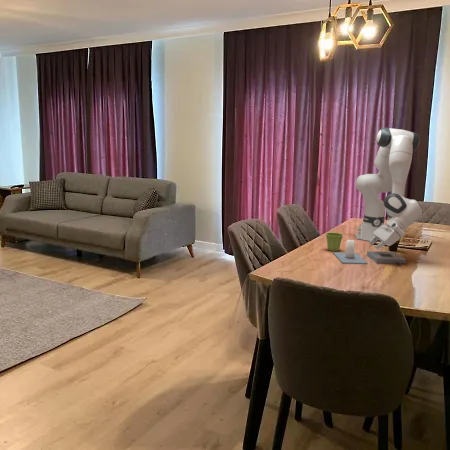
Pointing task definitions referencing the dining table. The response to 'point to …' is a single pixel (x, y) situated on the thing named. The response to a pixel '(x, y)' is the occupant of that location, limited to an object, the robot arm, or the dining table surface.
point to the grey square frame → (386, 257)
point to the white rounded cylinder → (350, 249)
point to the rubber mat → (343, 260)
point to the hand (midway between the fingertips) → (373, 246)
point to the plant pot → (333, 241)
